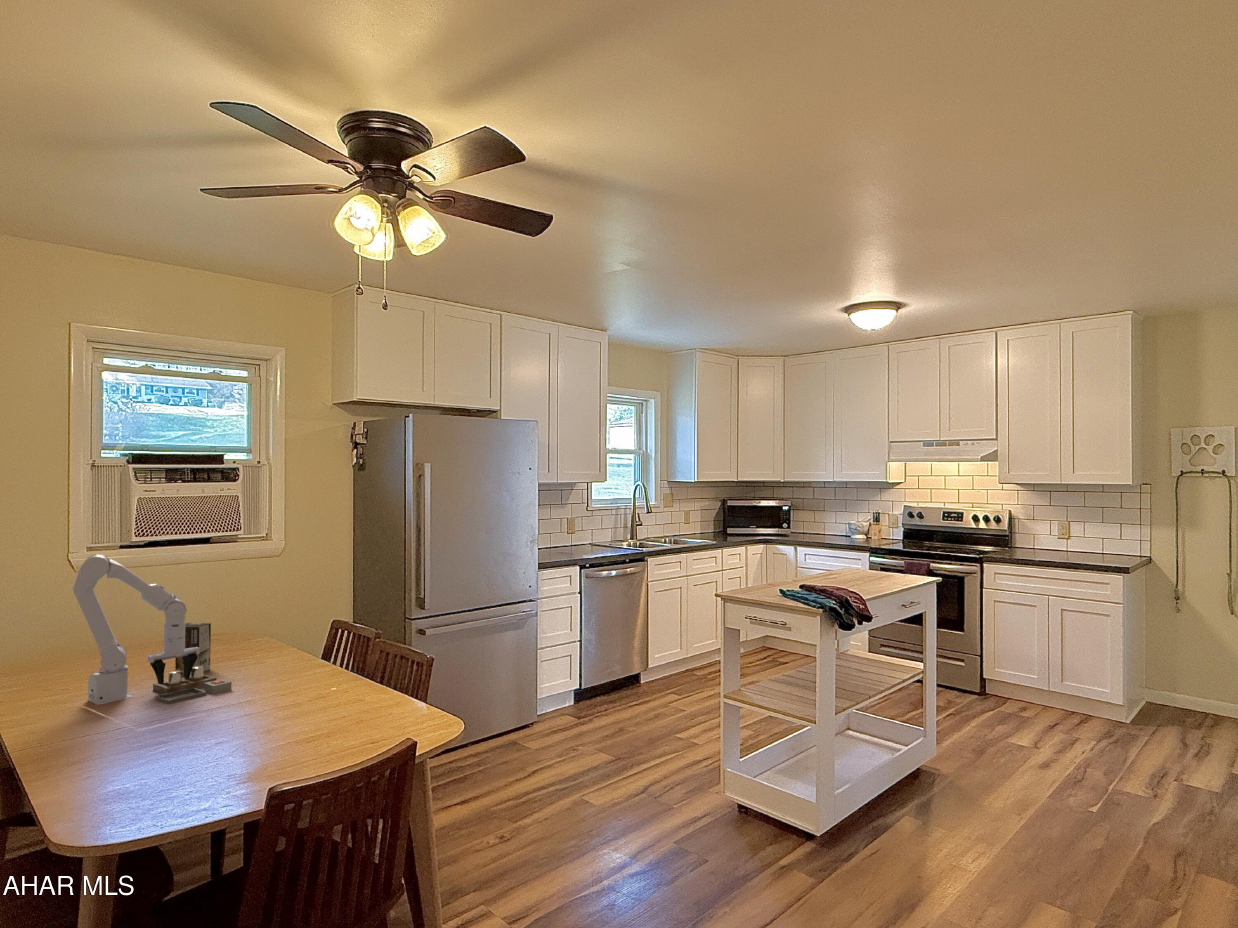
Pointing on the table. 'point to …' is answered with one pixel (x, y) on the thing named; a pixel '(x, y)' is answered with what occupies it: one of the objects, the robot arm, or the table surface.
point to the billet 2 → (196, 673)
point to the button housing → (217, 686)
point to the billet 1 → (174, 678)
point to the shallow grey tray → (180, 695)
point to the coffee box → (197, 644)
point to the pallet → (182, 684)
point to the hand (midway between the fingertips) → (173, 680)
